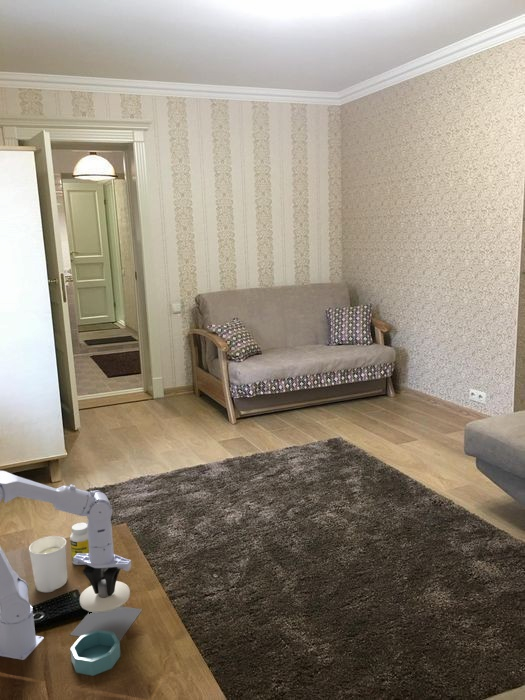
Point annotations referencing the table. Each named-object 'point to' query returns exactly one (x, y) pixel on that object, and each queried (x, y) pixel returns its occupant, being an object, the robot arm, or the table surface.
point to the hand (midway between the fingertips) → (104, 592)
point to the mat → (108, 621)
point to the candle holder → (49, 563)
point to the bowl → (95, 652)
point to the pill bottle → (79, 540)
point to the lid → (104, 597)
